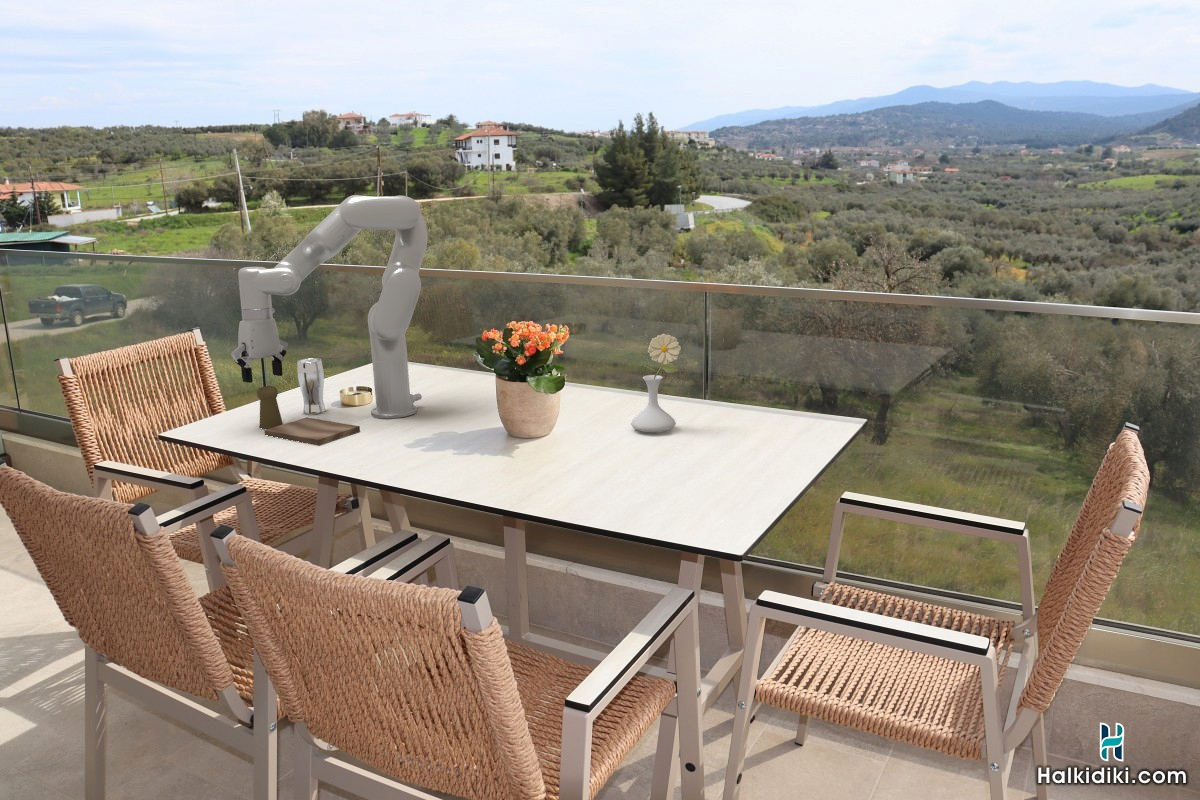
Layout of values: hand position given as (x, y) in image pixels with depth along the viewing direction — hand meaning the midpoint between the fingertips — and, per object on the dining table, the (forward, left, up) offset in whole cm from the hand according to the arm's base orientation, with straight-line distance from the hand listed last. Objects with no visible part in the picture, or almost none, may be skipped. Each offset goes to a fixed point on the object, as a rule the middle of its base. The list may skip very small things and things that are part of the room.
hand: (263, 378), depth 242 cm
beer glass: (-17, -1, -14) cm, 21 cm away
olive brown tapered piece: (-1, 0, -14) cm, 13 cm away
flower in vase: (-43, +95, -14) cm, 105 cm away
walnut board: (-1, +16, -13) cm, 21 cm away
